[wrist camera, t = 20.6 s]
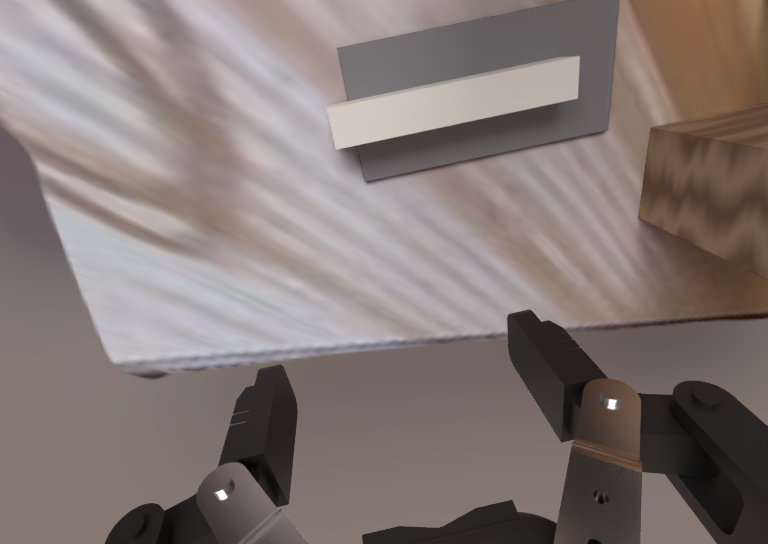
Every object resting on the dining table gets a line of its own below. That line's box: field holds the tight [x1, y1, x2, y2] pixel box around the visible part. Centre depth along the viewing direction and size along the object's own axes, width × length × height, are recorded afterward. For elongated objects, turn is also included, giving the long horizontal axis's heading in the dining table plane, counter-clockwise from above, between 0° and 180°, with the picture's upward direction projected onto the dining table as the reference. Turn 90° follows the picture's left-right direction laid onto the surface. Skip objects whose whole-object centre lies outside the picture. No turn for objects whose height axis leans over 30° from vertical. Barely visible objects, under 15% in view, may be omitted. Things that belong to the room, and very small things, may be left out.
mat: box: [337, 0, 619, 181], centre depth 44 cm, size 14×30×1 cm, turn 100°
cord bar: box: [327, 56, 580, 150], centre depth 42 cm, size 4×26×4 cm, turn 100°
